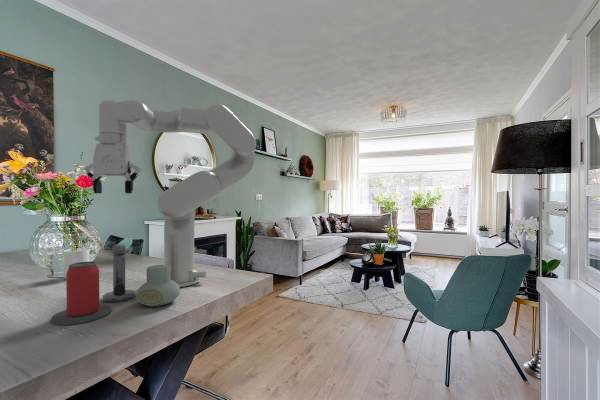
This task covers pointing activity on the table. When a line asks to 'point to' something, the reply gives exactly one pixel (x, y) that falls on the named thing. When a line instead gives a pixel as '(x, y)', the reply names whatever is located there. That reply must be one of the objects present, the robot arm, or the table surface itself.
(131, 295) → the clip post
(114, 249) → the bar
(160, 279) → the air freshener
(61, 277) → the table surface
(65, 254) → the white cup
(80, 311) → the beer can
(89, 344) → the table surface
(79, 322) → the rubber mat
